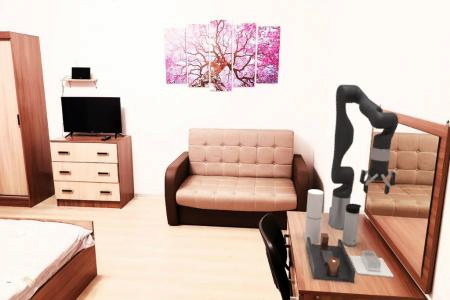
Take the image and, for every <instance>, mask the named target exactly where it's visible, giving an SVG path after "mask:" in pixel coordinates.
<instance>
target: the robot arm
mask: <svg viewBox="0 0 450 300" xmlns="http://www.w3.org/2000/svg"><path fill="white" fill-rule="evenodd" d="M347 104H356V105H358V109H359V112H360V113H361V114H362V115H363V116H365V118H367V119H368V121H369V123H370V126H372V128H374V129H378V130H382V132H381V133H377V134H375V135H374V136H373V139H372V147H371V152H370V159H369V166H368V167H369V168H368V170H365V169H361V172H360V177H359V183H360V184H362V185H363V192H364V193H365V194H368V190H369V184H370V183H372V182H373V181H374V182H377V181H378V182H382V181H383V182H384V184H385V185H384V191H383V193H384V195H388V194H389V193H390V187H392V186H395V185H396V176H397V175H396V174H397V173H396V172H395V171H393V170H392V171H389V166H390V159H391V146H392V139H393V137H394V135H395V132H396V130H397V128H398V125H399V117H398V115H397V114H396V113H395V112H384V111H383V109H382V107H381V106H380V105H378V104H377V103H375V102H374V101H373V100H371V99H370V98H369V96H367V94H366V93H365V92H364V91H363V89H361V87H359V85H356V84H340V85H338V86H337V88H336V92H335V127H334V128H335V129H334V143H333V146H334V147H333V158H332V165H331V171H330V179H331V182H332V183H333V184H335V185H340V186H337V187H336V188H333V190H332V196H331V204H330V205H331V206H330V207H329V211H328V220H327V221H328V222H327V223H328V225H329V226H330V227H331V228H334V229H338V230H344V220H345V212H346V205H347V204H351V198H352V193H353V187H354V182H355V171H354V170H355V169H354V168H353V167H352V166H351V165H350V166H343V165H342V162H343V158H344V157H345V155H346V154H347V152H348V151H349V150H350V148H351V147H352V145H353V143H354V138H355V137H354V135H355V128H354V125H353V122H351V120H350V118H349V116H348V114H347ZM367 174H368V176H367ZM366 176H367V177H366ZM388 176H389V178H390V180H389V181H388V179H387V177H388ZM365 178H366V179H365Z"/></svg>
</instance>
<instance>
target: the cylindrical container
mask: <svg viewBox="0 0 450 300" xmlns="http://www.w3.org/2000/svg"><path fill="white" fill-rule="evenodd" d="M306 203H307V204H306V212H305V213H306V216H305V227H304V229H305V231H304V241H305V242H307V237H310V241H311V244H319V243H320V240H321V226H322V215H323V203H324V191H323V190H320V189H309V190H308V191H307V202H306Z"/></svg>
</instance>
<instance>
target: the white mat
mask: <svg viewBox="0 0 450 300" xmlns="http://www.w3.org/2000/svg"><path fill="white" fill-rule="evenodd" d="M348 256H349V258H350V261H351V263H352V265H353V267H354V269H355V273H356V274H357V275H359V276H371V277H379V278H380V277H382V278H394V277H395V276H394V274H393V273H392V271H391V270H390V268H389V267H388V265H387V263H386V262H385V260H384V259H383V257H378V259H379V260H380V262H381V267H380V272H377V271H367V269H366V267H365V266H364V264H363V262H362V260H361V256H362V255H361V256H360V255H348Z"/></svg>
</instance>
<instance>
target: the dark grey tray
mask: <svg viewBox="0 0 450 300" xmlns="http://www.w3.org/2000/svg"><path fill="white" fill-rule="evenodd" d="M329 239H330V237H329V235H328V233H326V232H325V233H324V232H320V240H319V244H318V243H311V241H310V237H307V242H306V241H305V242H306V246H305V248H306V252H307V256H308V259H309V260H308V261H309V265H310V269H311V273H312V278H313V280H321V281H333V282H342V283H343V282H344V283H355V277H356V270H355V268H354V266H353V264H352V262H351V259H350V257H349V255H348V252H347V249H346V248H345V245H344V244H343V243H342V240H341V238H339V239H337V244H336V245H329Z"/></svg>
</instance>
